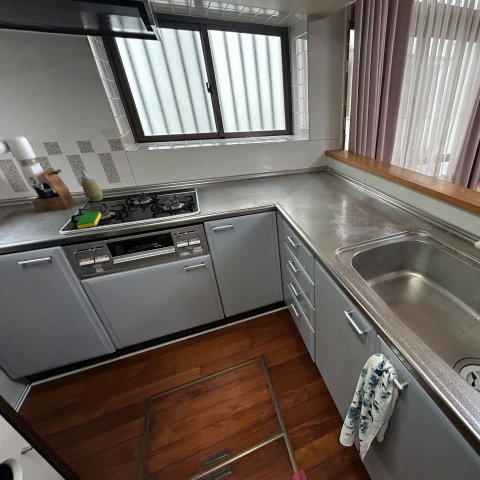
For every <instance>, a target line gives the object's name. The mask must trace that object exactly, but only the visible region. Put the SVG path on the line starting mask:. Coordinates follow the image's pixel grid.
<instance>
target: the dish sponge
mask: <svg viewBox="0 0 480 480" xmlns="http://www.w3.org/2000/svg"><path fill="white" fill-rule="evenodd" d="M101 217H102V213H101V212H100V210H97V211H91V212H86V213H82V214H81V216H80V218H79V219H78V221H77V222H76V224H75V225H76V227H77V229H85V228H91V227H96V226H97V225H98V224H99V221H100V219H101Z"/></svg>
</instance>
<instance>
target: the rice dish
mask: <svg viewBox="0 0 480 480" xmlns="http://www.w3.org/2000/svg"><path fill="white" fill-rule="evenodd" d="M43 190H44V191H45V193H46V195H47V197H50V196H53V195H54V194H55V190H54V189H53V188H52V189H44V188H43ZM36 195H37V197H39V196H38V194H37V193H36ZM43 198H46V197H43Z"/></svg>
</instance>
